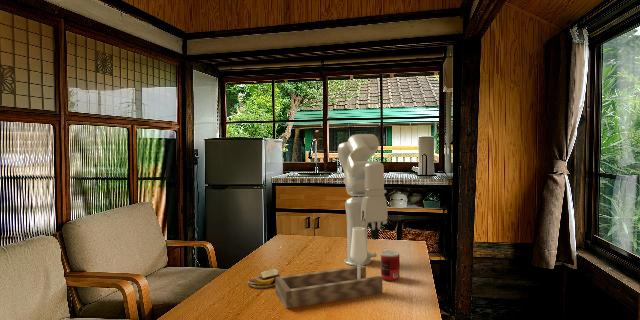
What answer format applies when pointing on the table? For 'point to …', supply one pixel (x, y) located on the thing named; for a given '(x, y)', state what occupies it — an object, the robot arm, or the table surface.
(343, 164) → the robot arm
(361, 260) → the champagne flute
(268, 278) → the toy sandwich meal
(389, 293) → the table surface
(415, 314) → the table surface
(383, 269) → the canned food
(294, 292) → the walnut U-rest
